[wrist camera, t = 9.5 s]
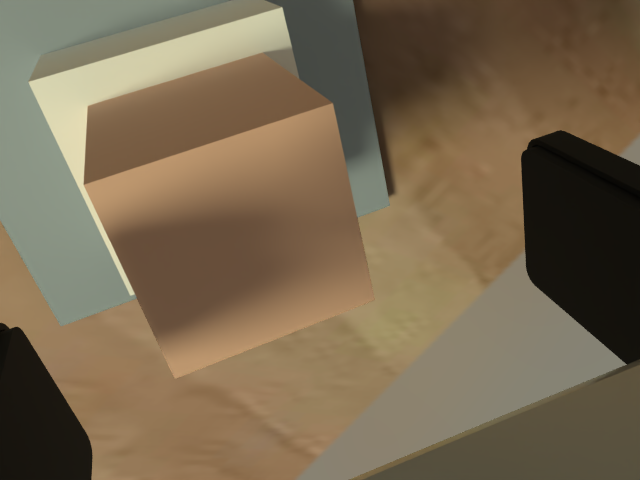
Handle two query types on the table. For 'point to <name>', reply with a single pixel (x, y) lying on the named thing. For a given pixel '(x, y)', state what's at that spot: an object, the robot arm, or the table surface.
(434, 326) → the table surface
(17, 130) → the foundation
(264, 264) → the terracotta block
